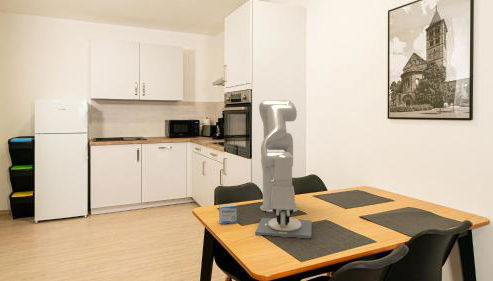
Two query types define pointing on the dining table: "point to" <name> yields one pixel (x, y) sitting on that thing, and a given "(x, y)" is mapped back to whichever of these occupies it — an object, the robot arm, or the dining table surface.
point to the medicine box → (227, 213)
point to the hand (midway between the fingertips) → (283, 223)
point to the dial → (284, 223)
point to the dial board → (300, 233)
